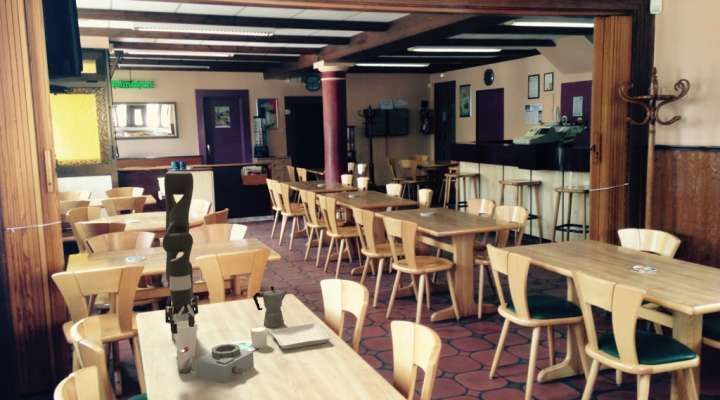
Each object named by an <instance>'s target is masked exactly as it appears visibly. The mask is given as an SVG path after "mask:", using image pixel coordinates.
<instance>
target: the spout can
mask: <svg viewBox="0 0 720 400" xmlns="http://www.w3.org/2000/svg"><path fill="white" fill-rule="evenodd" d="M176 363H177V364H176V365H177V373H178V374H181V375H182V374H183V375H186V374H190V373H191V372H193V357H192V353H191V348H188V347H184V348H181V349H178V350H177V349H176Z"/></svg>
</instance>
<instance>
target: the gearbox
mask: <svg viewBox="0 0 720 400" xmlns="http://www.w3.org/2000/svg"><path fill="white" fill-rule="evenodd" d="M254 360H255V359H254V351H250V350H246V349H240V345H239V344H235V343H222V344H218V345H216V346H214V347H212V348H211V352H209V353H207V354H205V355H202V356H200V357H199V358H198V357H197V358H196V359H194V371H195V373H194V374H195V377H197V378H202V379H207V380H211V381H216V382H221V383H223V384H224V383H225V384H226V383H228V382H229V381H231V380H233V379H235V378H236V377H238V376H242V374H244V373H246V372H248V371H250V370H252V369H254V368H255V364H254V363H255V361H254Z"/></svg>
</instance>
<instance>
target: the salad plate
mask: <svg viewBox="0 0 720 400" xmlns="http://www.w3.org/2000/svg"><path fill="white" fill-rule="evenodd" d="M269 334H270V335H271V336H272V337H274V339H275V341H276V342H277V343H278V344H279V346H280V347H281V348H282V349H288V350H291V349H297V348H302V347H304V348H305V347H308V346H309V347H310V346H314V345H320V344H324V343H326V342H328V341H329V340H330V339H331V336H330V335H328V334H327V333H326V332H325V331H324V330H323V329H322V327H320V326H319V324H317V323H307V324H302V325H301V324H300V325H295V326H289V327H288V326H287V327H283V328H282V327H281V328H277V329H276V328H274V329H271V330H269Z"/></svg>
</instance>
